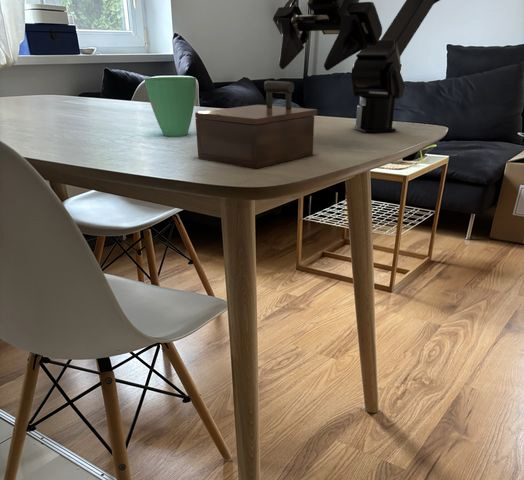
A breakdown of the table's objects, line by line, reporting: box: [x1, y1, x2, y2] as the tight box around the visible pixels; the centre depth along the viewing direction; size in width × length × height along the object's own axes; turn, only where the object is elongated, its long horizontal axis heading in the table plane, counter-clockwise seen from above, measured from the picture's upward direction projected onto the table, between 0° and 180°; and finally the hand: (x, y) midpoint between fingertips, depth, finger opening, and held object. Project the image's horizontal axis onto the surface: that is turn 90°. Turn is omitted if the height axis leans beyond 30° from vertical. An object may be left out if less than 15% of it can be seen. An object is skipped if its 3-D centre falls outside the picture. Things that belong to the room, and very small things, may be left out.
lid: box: [194, 80, 319, 125], centre depth 78 cm, size 14×13×5 cm
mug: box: [144, 76, 197, 137], centre depth 102 cm, size 15×10×10 cm
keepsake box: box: [195, 115, 315, 170], centre depth 80 cm, size 14×13×6 cm
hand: (302, 67), depth 83 cm, fingers open, 9 cm apart
